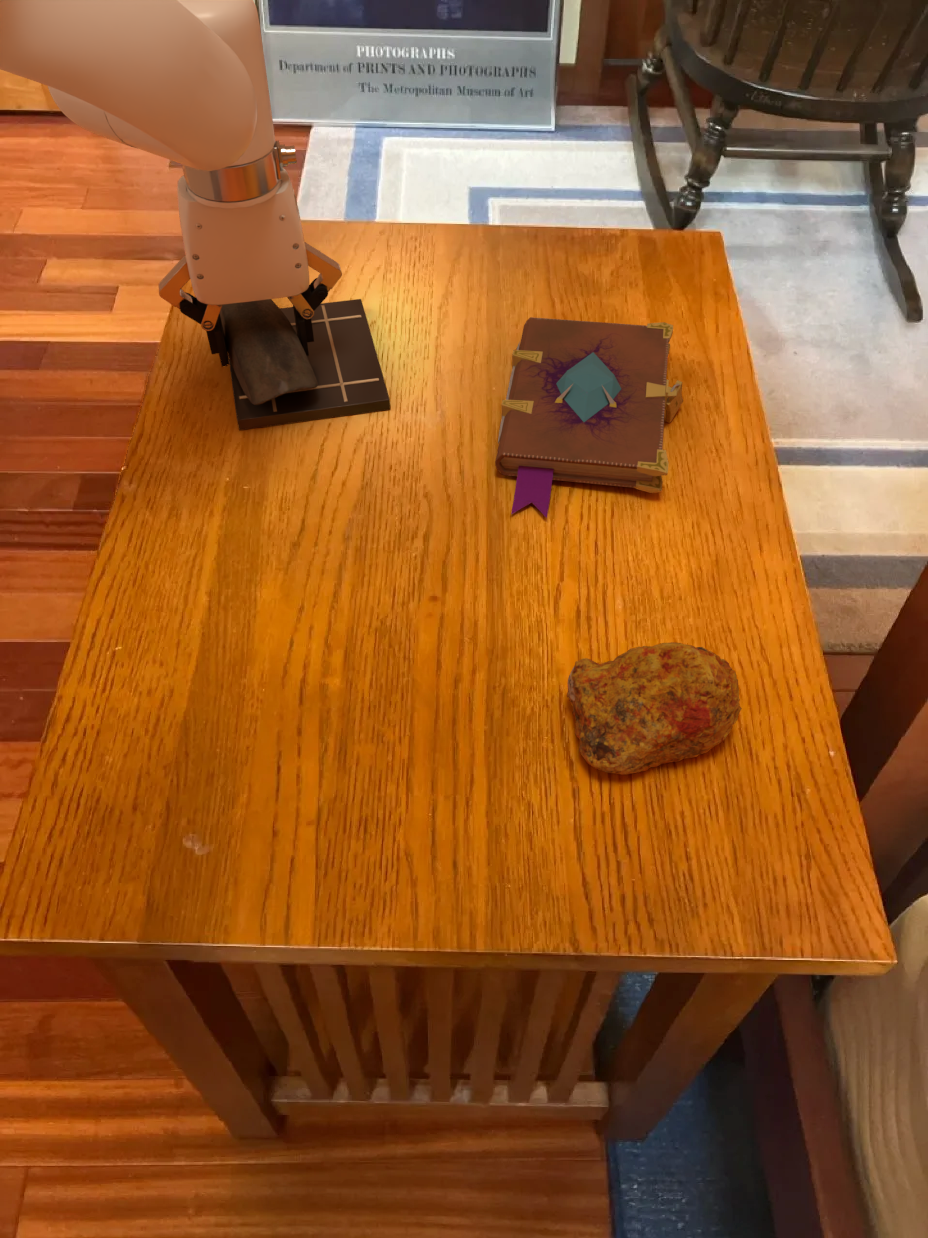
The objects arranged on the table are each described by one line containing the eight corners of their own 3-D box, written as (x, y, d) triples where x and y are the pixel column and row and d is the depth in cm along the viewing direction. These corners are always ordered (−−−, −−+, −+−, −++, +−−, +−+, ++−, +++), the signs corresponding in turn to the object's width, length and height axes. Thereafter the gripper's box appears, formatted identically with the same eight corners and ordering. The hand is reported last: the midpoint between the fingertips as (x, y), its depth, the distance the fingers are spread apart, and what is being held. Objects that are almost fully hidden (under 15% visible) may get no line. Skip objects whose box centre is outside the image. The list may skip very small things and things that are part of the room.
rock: (656, 811, 68) (573, 775, 61) (611, 725, 73) (532, 684, 67) (779, 718, 64) (704, 669, 57) (721, 635, 70) (648, 582, 63)
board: (239, 430, 85) (236, 419, 84) (224, 324, 94) (222, 313, 93) (390, 409, 87) (389, 398, 86) (361, 308, 96) (361, 297, 95)
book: (484, 520, 80) (483, 478, 76) (521, 344, 95) (522, 301, 91) (676, 539, 78) (686, 497, 74) (683, 356, 93) (692, 313, 89)
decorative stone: (325, 405, 85) (321, 368, 82) (257, 424, 83) (250, 387, 80) (269, 302, 94) (263, 265, 91) (207, 316, 93) (198, 279, 89)
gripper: (332, 134, 77) (348, 317, 92) (117, 153, 75) (168, 339, 89) (346, 180, 73) (361, 365, 87) (119, 202, 70) (172, 389, 85)
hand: (263, 350), depth 88 cm, fingers closed on decorative stone, 6 cm apart
